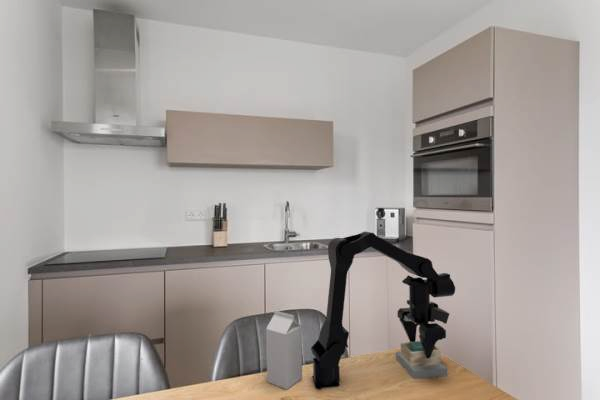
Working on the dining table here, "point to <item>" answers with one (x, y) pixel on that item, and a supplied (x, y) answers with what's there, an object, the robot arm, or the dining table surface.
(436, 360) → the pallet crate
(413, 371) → the block
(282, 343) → the milk carton
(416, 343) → the cargo block
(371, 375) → the dining table surface
